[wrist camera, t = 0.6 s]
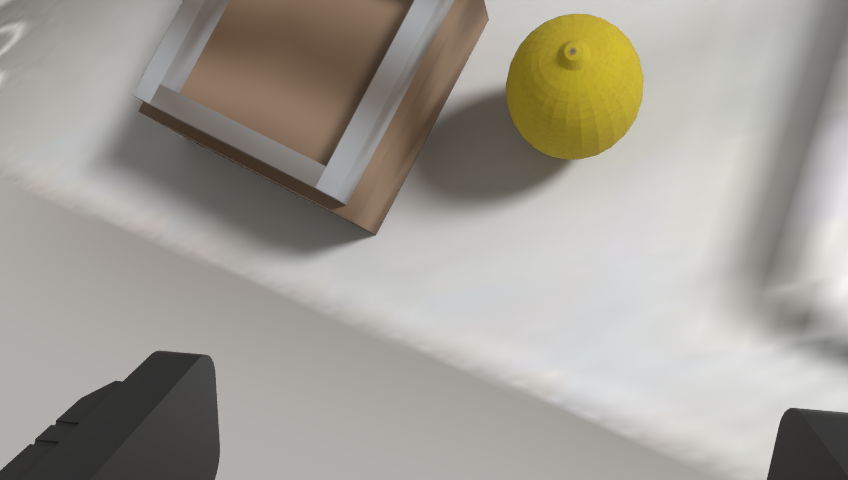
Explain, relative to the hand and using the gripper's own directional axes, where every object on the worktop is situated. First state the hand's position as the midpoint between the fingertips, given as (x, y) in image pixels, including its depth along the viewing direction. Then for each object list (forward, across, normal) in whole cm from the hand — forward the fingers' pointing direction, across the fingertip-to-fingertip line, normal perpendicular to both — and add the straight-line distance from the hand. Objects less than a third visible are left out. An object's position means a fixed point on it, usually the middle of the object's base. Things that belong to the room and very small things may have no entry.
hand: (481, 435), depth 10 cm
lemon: (+25, -3, -1) cm, 25 cm away
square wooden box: (+27, +9, -2) cm, 28 cm away
